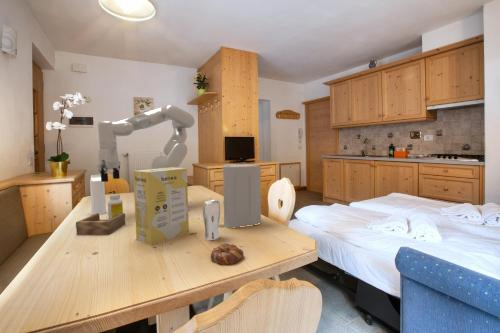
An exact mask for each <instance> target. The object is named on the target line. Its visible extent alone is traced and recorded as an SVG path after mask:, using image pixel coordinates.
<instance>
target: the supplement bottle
mask: <svg viewBox="0 0 500 333" xmlns="http://www.w3.org/2000/svg"><path fill="white" fill-rule="evenodd" d="M120 197H121V195H120V194H117V193H116V194H110V195H109V200H108V201H107V212H108V220H110V219H112V218H114V217H116V216H118V215H120V214H122V213H124V208H123V200H122V199H121V198H120Z"/></svg>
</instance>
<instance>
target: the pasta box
mask: <svg viewBox="0 0 500 333" xmlns="http://www.w3.org/2000/svg"><path fill="white" fill-rule="evenodd" d="M132 175H133V176H132V177H133V193H134V194H133V196H134V199H133V200H134V216H135V220H134V221H135V231H136V232H135V235H136V240H137V241H139V242H142V243H145V244H147V245H150V246H153V245H156V244H159V243H162V242H165V241H167V240H170V239H173V238H175V237H179V236H181V235H184V234H187V233H189V232H190V226H189V224H190V223H189V197H188V196H189V193H188V191H189V190H188V168H186V167H185V168H184V167H178V168H175V167H170V168H159V169H152V168H151V169H141V170H140V169H139V170H138V169H137V170H132Z"/></svg>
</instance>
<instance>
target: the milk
mask: <svg viewBox="0 0 500 333" xmlns="http://www.w3.org/2000/svg"><path fill="white" fill-rule="evenodd" d="M105 187H106V186H105V182H101V174H100V173H98V174H91V175H90V179H89V190H90V191H89V192H90V206H91V214H92V215H94V214H96V213H99V215H103V214H107V206H106V205H107V202H106V189H105Z"/></svg>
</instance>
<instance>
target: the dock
mask: <svg viewBox="0 0 500 333" xmlns="http://www.w3.org/2000/svg"><path fill="white" fill-rule="evenodd" d="M75 226H76V227H75V229H76V236H77V235H78V236H80V235H81V236H87V235H88V236H98V235H99V236H102V235H104V236H109V235H111V234H112V233H114V232H116V231H117V230H120V229H121V228H122V227H124V226H126V213H124V212H123V213H122V214H120V215H118V216H116V217H114V218H112V219H110V220H109V219H100V214H99V213H96V214H92V215H90V216H89V215H88V216H87V217H84V218H83V219H80V220H78V221H76V222H75Z"/></svg>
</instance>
